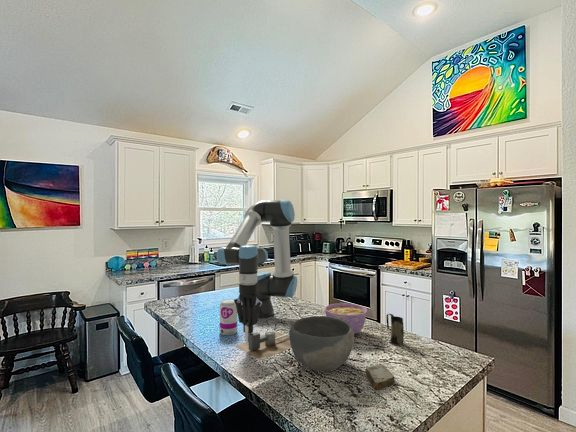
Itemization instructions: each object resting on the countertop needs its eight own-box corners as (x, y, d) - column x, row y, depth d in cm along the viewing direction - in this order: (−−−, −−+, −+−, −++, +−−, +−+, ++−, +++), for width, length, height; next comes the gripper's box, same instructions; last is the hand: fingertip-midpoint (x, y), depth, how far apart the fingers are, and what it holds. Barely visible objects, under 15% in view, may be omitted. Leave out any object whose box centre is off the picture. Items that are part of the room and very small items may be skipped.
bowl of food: (371, 329, 162) (371, 306, 162) (362, 344, 144) (362, 317, 144) (331, 323, 170) (331, 301, 170) (318, 336, 152) (318, 311, 152)
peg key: (285, 335, 149) (285, 322, 149) (291, 338, 146) (291, 324, 146) (247, 349, 135) (247, 333, 135) (253, 352, 131) (253, 336, 131)
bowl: (338, 388, 107) (338, 342, 107) (276, 370, 120) (276, 328, 120) (364, 360, 127) (364, 321, 127) (308, 347, 140) (308, 312, 140)
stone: (362, 370, 120) (362, 361, 120) (384, 369, 121) (384, 361, 121) (374, 392, 106) (374, 382, 106) (400, 391, 106) (400, 382, 106)
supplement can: (233, 336, 153) (233, 304, 153) (217, 335, 155) (217, 303, 155) (239, 330, 161) (239, 299, 161) (223, 329, 163) (223, 298, 162)
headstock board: (274, 333, 157) (274, 330, 156) (305, 345, 142) (305, 342, 142) (231, 347, 140) (231, 344, 140) (261, 362, 125) (261, 358, 125)
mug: (406, 344, 144) (406, 316, 144) (398, 347, 141) (398, 318, 141) (391, 338, 150) (391, 312, 150) (383, 341, 147) (383, 314, 147)
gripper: (229, 283, 135) (229, 341, 135) (256, 286, 129) (256, 346, 129) (240, 280, 142) (240, 335, 142) (266, 283, 136) (266, 340, 136)
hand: (248, 340), depth 136 cm, fingers closed
